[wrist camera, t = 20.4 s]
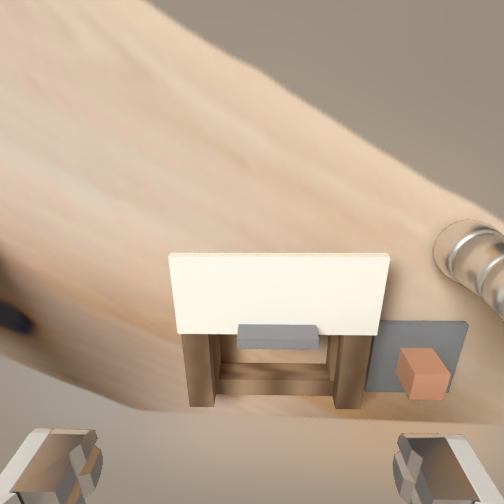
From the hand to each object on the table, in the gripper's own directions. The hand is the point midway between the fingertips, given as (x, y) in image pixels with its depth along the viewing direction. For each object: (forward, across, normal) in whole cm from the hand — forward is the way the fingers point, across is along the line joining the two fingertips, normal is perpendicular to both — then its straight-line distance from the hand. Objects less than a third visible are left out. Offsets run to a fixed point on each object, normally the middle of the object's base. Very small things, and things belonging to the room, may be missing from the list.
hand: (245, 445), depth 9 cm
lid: (+24, -2, +9) cm, 26 cm away
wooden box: (+29, -2, +18) cm, 34 cm away
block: (+28, -20, +22) cm, 41 cm away
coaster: (+29, -20, +22) cm, 41 cm away
